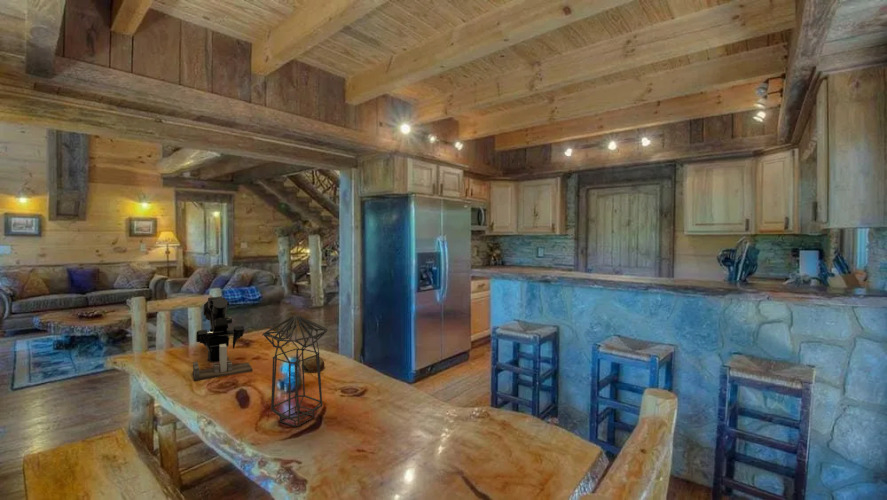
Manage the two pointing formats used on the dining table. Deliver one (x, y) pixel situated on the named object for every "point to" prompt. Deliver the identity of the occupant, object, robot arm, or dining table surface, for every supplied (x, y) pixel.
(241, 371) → the stand
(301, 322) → the geometric lantern
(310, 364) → the brown rough lump
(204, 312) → the robot arm
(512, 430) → the dining table surface
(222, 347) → the rectangular block
